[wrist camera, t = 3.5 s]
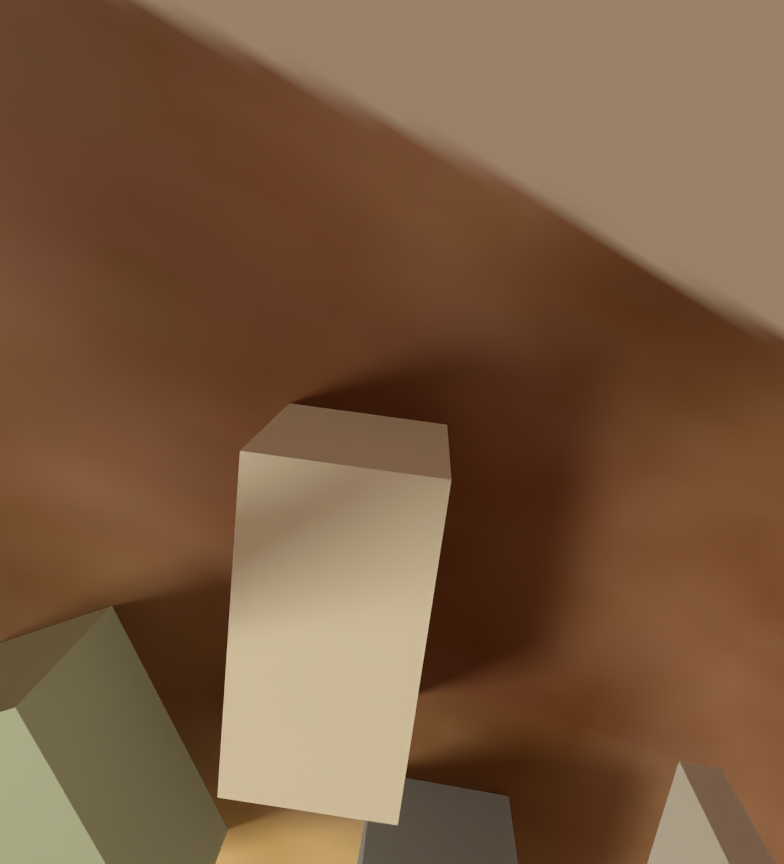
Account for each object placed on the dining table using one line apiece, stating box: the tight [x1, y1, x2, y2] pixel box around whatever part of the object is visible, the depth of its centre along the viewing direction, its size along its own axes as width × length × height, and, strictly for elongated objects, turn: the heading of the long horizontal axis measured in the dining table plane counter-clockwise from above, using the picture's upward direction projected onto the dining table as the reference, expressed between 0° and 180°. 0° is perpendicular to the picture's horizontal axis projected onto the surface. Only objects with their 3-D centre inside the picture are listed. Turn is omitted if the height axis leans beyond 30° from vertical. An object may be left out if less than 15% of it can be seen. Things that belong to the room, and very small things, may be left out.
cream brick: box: [217, 403, 451, 825], centre depth 17 cm, size 9×4×5 cm, turn 173°
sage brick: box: [0, 606, 228, 864], centre depth 19 cm, size 9×4×5 cm, turn 21°
